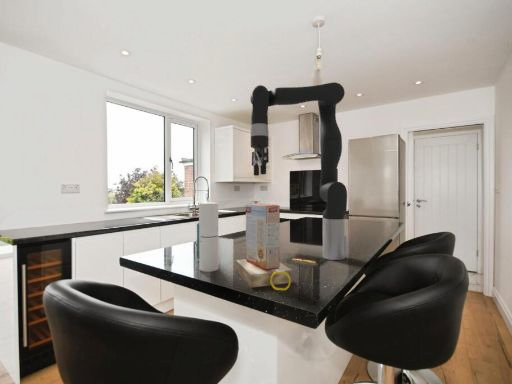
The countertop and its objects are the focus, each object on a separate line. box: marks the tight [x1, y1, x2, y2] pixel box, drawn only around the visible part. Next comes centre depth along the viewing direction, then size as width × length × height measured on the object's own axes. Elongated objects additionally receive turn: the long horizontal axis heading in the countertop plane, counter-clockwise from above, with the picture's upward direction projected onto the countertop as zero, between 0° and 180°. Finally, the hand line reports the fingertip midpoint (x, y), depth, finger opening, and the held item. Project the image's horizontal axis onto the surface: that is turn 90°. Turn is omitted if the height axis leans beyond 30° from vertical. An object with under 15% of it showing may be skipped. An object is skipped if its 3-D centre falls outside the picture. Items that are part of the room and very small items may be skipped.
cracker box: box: [245, 203, 281, 270], centre depth 94 cm, size 14×6×21 cm, turn 30°
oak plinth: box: [235, 258, 293, 288], centre depth 93 cm, size 14×18×4 cm
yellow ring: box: [270, 269, 291, 291], centre depth 81 cm, size 6×3×6 cm, turn 80°
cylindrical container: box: [198, 202, 220, 273], centre depth 102 cm, size 7×7×25 cm
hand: (259, 174), depth 113 cm, fingers open, 8 cm apart
